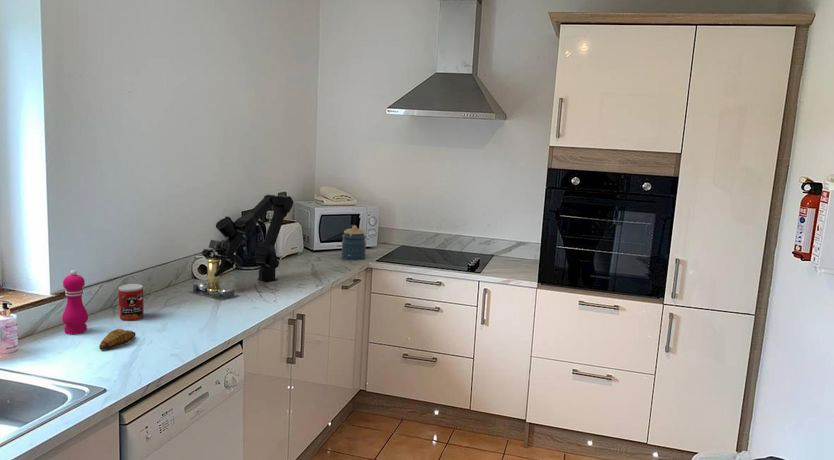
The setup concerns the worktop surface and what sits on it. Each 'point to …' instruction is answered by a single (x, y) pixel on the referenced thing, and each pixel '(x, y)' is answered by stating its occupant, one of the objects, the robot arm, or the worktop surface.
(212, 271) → the gold flanged cylinder
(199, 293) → the shaft bed
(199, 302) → the worktop surface
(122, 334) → the croissant
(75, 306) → the pepper mill
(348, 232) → the canister
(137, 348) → the worktop surface
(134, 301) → the canned food
